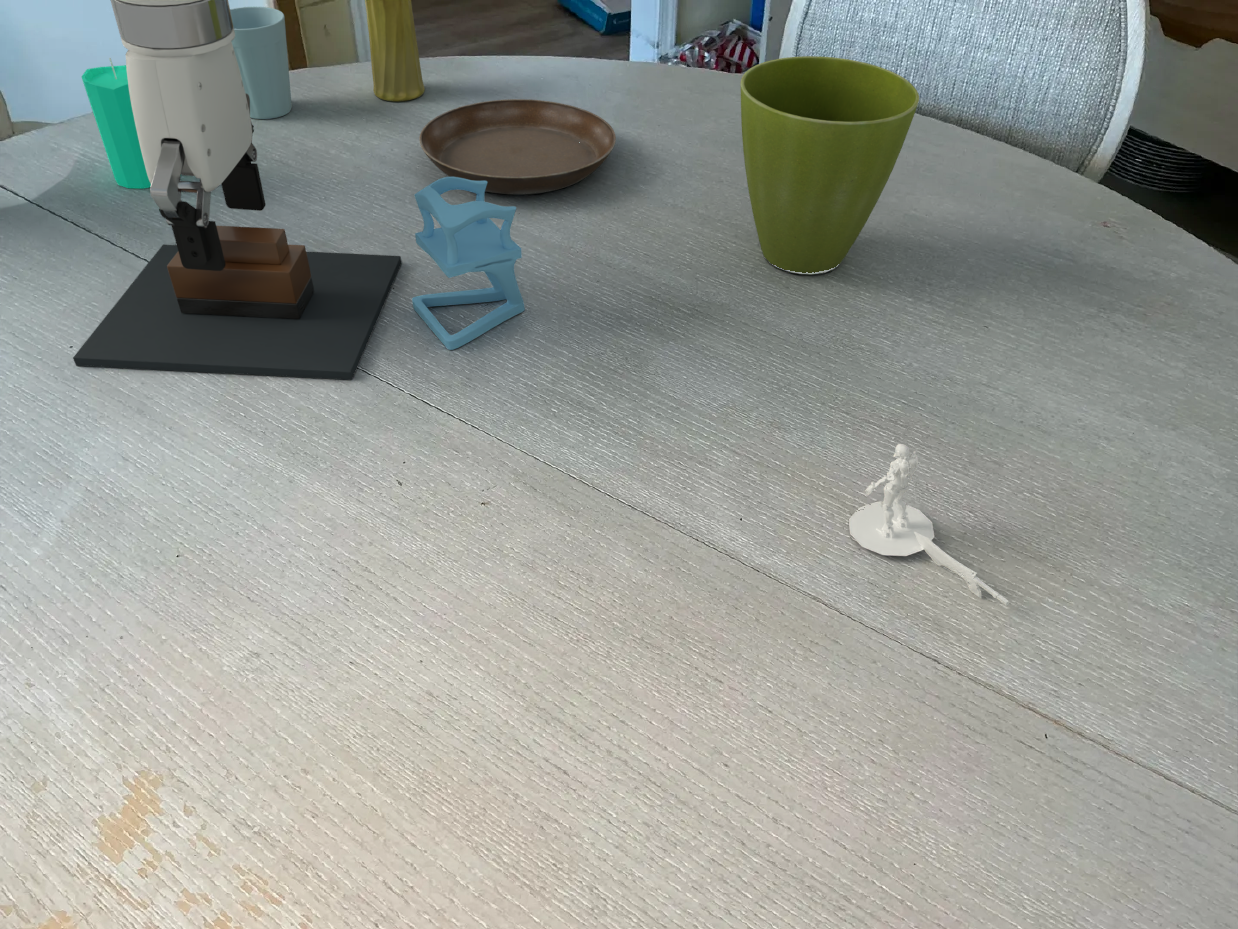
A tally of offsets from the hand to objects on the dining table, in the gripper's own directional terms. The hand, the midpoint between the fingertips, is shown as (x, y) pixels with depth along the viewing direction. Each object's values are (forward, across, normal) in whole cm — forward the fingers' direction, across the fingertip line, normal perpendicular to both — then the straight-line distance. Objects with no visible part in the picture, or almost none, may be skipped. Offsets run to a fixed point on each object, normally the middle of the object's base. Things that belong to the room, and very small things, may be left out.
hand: (226, 236), depth 82 cm
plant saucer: (+7, -31, +20) cm, 37 cm away
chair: (+7, -1, +20) cm, 21 cm away
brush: (+6, 0, +1) cm, 6 cm away
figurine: (+6, +25, +54) cm, 60 cm away
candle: (+8, -24, -18) cm, 31 cm away
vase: (+7, -49, +3) cm, 49 cm away
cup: (+8, -42, -11) cm, 44 cm away
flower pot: (+6, -14, +49) cm, 51 cm away
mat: (+7, 0, +1) cm, 7 cm away
